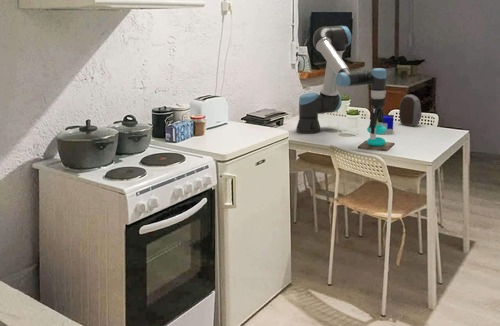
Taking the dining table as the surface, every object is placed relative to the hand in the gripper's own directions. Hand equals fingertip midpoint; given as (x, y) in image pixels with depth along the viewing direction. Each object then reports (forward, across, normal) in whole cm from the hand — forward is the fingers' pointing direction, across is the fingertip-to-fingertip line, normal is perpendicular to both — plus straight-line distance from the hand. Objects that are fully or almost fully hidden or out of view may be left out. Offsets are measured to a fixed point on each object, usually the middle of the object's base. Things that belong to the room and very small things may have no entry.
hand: (376, 136), depth 287 cm
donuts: (+4, 0, 0) cm, 5 cm away
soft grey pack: (+6, +65, -5) cm, 65 cm away
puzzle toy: (+6, +37, +5) cm, 38 cm away
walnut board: (+5, 0, 0) cm, 5 cm away
